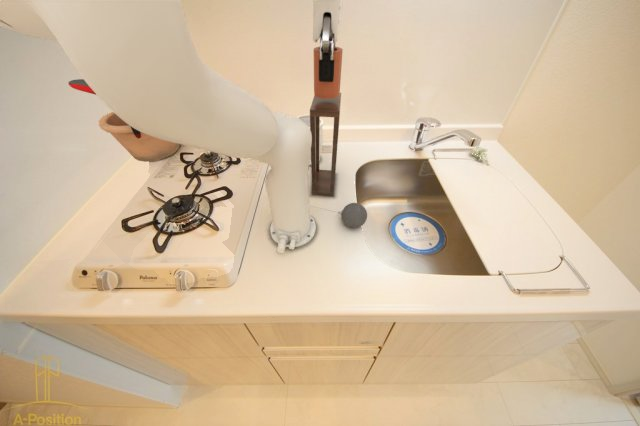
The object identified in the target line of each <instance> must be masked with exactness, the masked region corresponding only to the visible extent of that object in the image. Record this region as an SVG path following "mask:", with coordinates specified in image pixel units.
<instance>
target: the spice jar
mask: <svg viewBox="0 0 640 426" xmlns="http://www.w3.org/2000/svg"><path fill="white" fill-rule="evenodd" d="M319 59H320V46H315V47H314V48H313V96H314V95H315V96H316V97H318V98H322V99H333V98H336V97H338V96H339V95H340V93H341V79H342V65H343V64H342V63H343V48H342V47H339V46H335V47H334V54H333V60H334V79H333V82H320V81H319Z"/></svg>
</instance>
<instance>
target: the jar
mask: <svg viewBox="0 0 640 426" xmlns="http://www.w3.org/2000/svg"><path fill="white" fill-rule="evenodd" d="M296 117H297V118H299V119H301V120H302V121H304V122H305V123H306V124H307V125H308V127H309V128H310V114H302V115H299V116H296ZM323 126H324V120H323V118H322V117H320V145H319V162H320V161H321V156H320V155H321V153H322V150H323V143H324V131H323V130H324V129H323ZM308 166H311V151H310V157H309V165H308Z"/></svg>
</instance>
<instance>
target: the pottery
mask: <svg viewBox="0 0 640 426" xmlns="http://www.w3.org/2000/svg"><path fill="white" fill-rule="evenodd" d="M110 112H111V111H110ZM108 113H109V112H108ZM108 113H106V114H107V115H106V114H104V115H105V116H104V115H103V116H101V117H100V119H99V120H98V126H99V128H100V129H101V130H103V131H104V132H106V133H109V134H110V135H111V136H112V137H113V138H114V139H115V140H116V141H117V142H118V143H119V144H120V145H121V146H122V147H123V148H124V149H125V150H126V151H127V152H128V153H129V155H130V156H132V158H133V159H135V161H139V162H145V163H146V162H147V163H149V162H156V161H160V160H161V161H162V160H163V159H166V158H168V157H170V156H173V155H174V154H175V153H177V151H178V150H179V149H180V146H181V144H178V143H174V142H169V141H165V140H161V139H158V138H155V137H152V136H150V135H147V134H144V133H142V132H140V133H141V138H139V139H138V138H136V136H135V135H134V133H133V131H132V129H131V126H130V125H128V124H127V123H126V122H124V121H123V120H122V119H121V118H120V117H118V116H117V115H116V114H115V113H114V112H111V113H109V114H108ZM178 145H179V146H178Z"/></svg>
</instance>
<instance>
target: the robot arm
mask: <svg viewBox="0 0 640 426" xmlns="http://www.w3.org/2000/svg"><path fill="white" fill-rule="evenodd" d="M312 2H313V5H312V6H313V8H312V10H313V13H312V16H313V18H312V22H313V23H312V41H313V42H314V43H318V41H319V47H320V59H319V81H320V82H333V79H334V60H333V54H334V47H336V43H337V42H338V41H339V35H340V29H341V22H342V15H343V3H344V0H313V1H312ZM0 27H1V28H4V29H6V30H9V31H12V32H14V33H17V34H20V35H24V36H29V37H32V38H37V39H43V40H50V41H54V42H55V41H56V42H58V43H59V45H60V46H61V48H62V49H63V52H64V53H65V54H66V56H67V57H68V59H69V60H70V62H71V63H72V65H73V66H74V68H75V70H77V72H78V73H79V75H80V77H81V79H84V80H85V82H86V83H87V84H88V85H89V86H90V88H91V89H92V90H93V91H94V92H95V93H96V94H97V95H96V96H97V97H98V98H99V100H101V101H102V102H103V103H104V105H106V107H108V108H109V110H110V111H113V112H114V113H115V114H116V115H117V116H118V117H120V118H121V119H122V120H123V121H124V122H126V123H127V124H128V125H130V126H131V127H133V128H134V129H136V130H138V131H140V132H142V133H144V134H147V135H150V136H152V137H155V138H158V139H161V140H165V141H169V142H174V143H178V144H180V145H183V146H188V147H192V148H197V149H199V150H204V151H207V152H211V153H215V154H218V155H220V156H225V157H231V158H236V159H251V160H255V161H258V162H261V163H263V164H266V165H268V166H269V167H270V169H269V170H268V172H267V173H266V175H265V179H264V184H265V190H266V193H267V198H268V202H269V206H270V210H271V215H272V221H271V224H270V227H269V232H270V236H271V238H272V240H273V241H274V242H275V243H276V244H277V247H276V252H277V253H278V254H284V253H285V251H286V248H288V249H289V250H295V248H299V247H301V246H304V245H306V244H308V243H309V242H310V241H311V240H312V239H313V238H314V236H315V234H316V230H317V225H316V221H315V219H314V217H312V215H311V212H310V211H311V209H310V191H309V166H310V165H309V157H310V151H311V144H312V134H311V130H310V128H309V127H308V125H307V124H306V123H305V122H304V121H302V120H301V119H299V118H297V117H298V116H295V115H292V114H289V113H283V112H279V111H275V110H274V111H273V110H272V109H271V108H270V107H269V106H268V105H267V103H265V102H264V101H263V100H261V99H260V97H258V96H256V95H254V94H253V93H252V92H250V91H248V90H246V89H244V88H243V87H241V86H240V85H238V84H237V83H235V82H233V81H231V80H230V79H228V78H227V77H225V76H224V75H222V74H221V73H219V72H218V71H217V70H215V69H214V68H212V67H211V66H209V65H208V64H207V63H206V62H205V61H204V60H203V59H202V58H201V56H200V55H199V53H198V51H197V49H196V46H195V43H194V41H193V39H192V35H191V31H190V28H189V26H188V23H187V19H186V16H185V11H184V7H183V3H182V0H0Z"/></svg>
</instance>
